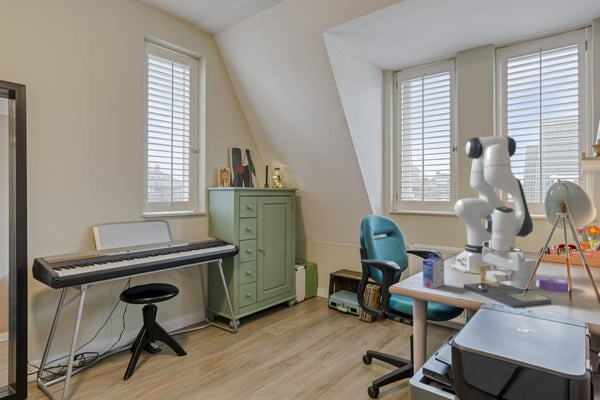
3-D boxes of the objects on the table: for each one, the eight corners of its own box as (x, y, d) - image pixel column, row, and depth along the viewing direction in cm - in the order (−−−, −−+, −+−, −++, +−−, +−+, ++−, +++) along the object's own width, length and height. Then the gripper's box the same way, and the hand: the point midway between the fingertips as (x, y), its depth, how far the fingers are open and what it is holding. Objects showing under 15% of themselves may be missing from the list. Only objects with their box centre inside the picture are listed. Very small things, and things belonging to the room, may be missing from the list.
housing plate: (463, 287, 153) (463, 281, 153) (498, 284, 157) (498, 278, 157) (512, 307, 128) (512, 299, 128) (552, 303, 132) (552, 295, 132)
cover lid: (486, 278, 149) (486, 271, 149) (507, 276, 152) (507, 269, 152) (496, 282, 143) (497, 275, 143) (518, 280, 146) (518, 273, 146)
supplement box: (536, 288, 152) (537, 260, 151) (526, 290, 148) (526, 261, 148) (519, 284, 158) (520, 257, 158) (509, 286, 155) (510, 258, 155)
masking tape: (535, 288, 153) (536, 279, 153) (541, 283, 161) (541, 275, 161) (568, 294, 144) (569, 285, 144) (573, 288, 153) (573, 280, 152)
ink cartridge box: (433, 282, 161) (433, 252, 161) (444, 285, 157) (445, 253, 157) (422, 286, 155) (422, 254, 155) (433, 289, 151) (433, 256, 150)
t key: (485, 284, 147) (486, 263, 147) (504, 288, 140) (504, 267, 140) (475, 286, 144) (475, 265, 143) (494, 291, 137) (494, 269, 136)
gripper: (530, 249, 137) (529, 283, 138) (491, 241, 157) (490, 271, 158) (517, 250, 136) (516, 285, 137) (479, 241, 156) (478, 271, 157)
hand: (502, 277), depth 148 cm, fingers closed on cover lid, 6 cm apart
